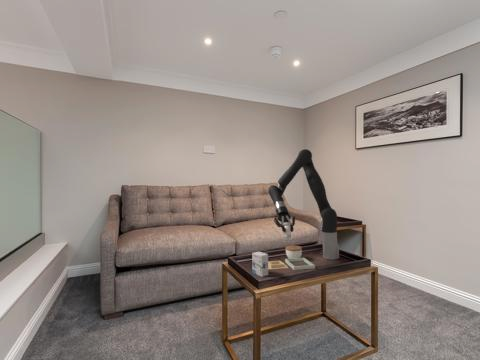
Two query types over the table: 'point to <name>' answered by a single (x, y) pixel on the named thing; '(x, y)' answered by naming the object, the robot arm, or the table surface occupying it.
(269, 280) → the table surface
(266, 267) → the ink box
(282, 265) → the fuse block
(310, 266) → the parts tray
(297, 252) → the lidded jar
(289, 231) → the fuse
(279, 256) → the table surface
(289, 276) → the table surface
